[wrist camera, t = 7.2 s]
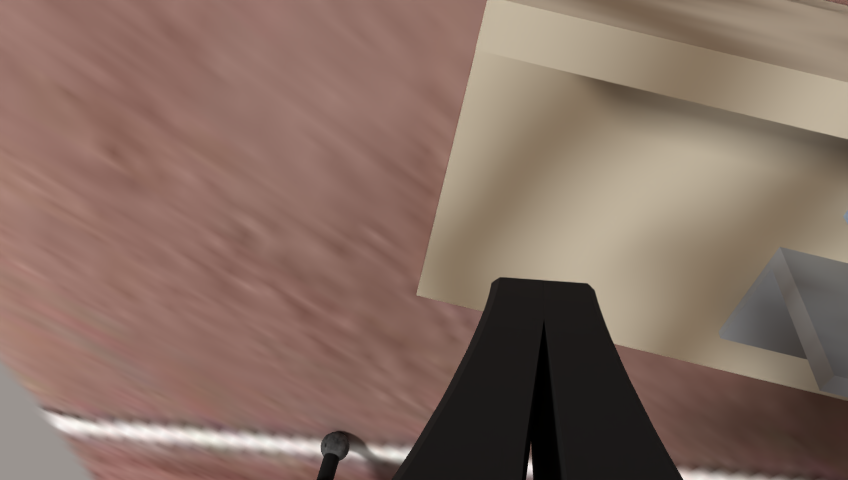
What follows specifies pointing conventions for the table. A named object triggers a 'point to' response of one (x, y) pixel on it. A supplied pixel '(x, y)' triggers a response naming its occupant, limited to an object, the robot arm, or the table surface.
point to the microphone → (332, 454)
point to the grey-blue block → (846, 216)
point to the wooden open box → (662, 176)
